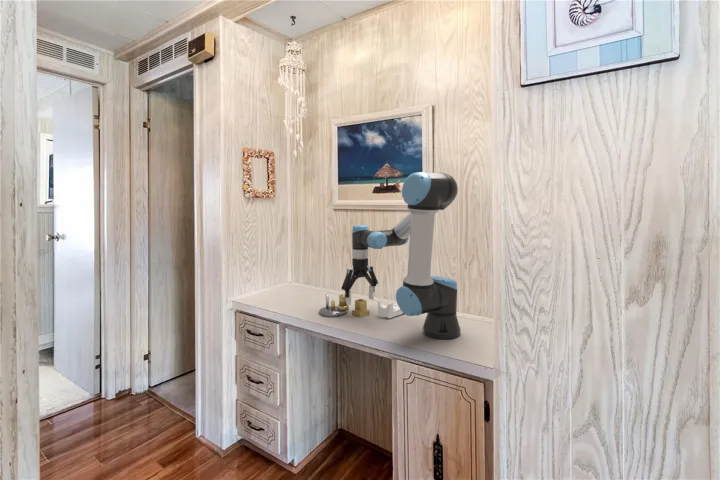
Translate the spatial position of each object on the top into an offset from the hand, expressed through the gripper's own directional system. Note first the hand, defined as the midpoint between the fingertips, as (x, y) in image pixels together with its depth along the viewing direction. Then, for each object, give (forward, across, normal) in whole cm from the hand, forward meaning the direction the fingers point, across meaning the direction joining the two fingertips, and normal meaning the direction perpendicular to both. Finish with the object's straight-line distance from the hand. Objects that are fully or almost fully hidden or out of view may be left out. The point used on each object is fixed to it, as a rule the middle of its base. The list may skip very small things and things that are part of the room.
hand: (360, 301), depth 177 cm
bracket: (+7, -12, +11) cm, 17 cm away
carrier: (+7, +9, -10) cm, 15 cm away
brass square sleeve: (+6, 0, +1) cm, 6 cm away
